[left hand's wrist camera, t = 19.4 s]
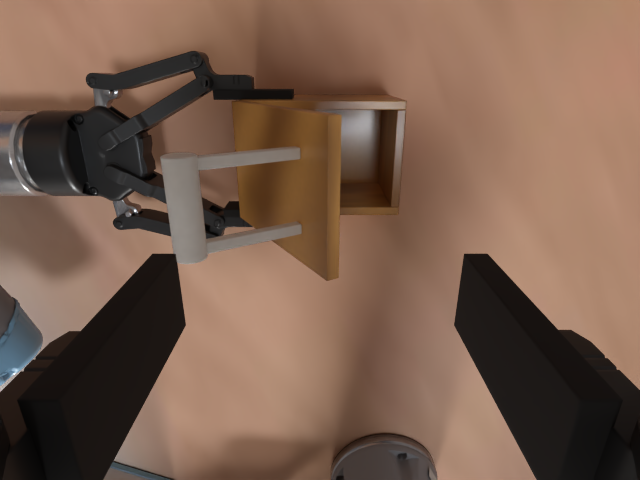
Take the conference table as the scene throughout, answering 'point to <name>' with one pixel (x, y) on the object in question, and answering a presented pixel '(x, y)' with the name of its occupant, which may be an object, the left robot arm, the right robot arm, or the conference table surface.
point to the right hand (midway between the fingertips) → (294, 154)
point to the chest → (363, 147)
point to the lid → (266, 186)
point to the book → (129, 473)
